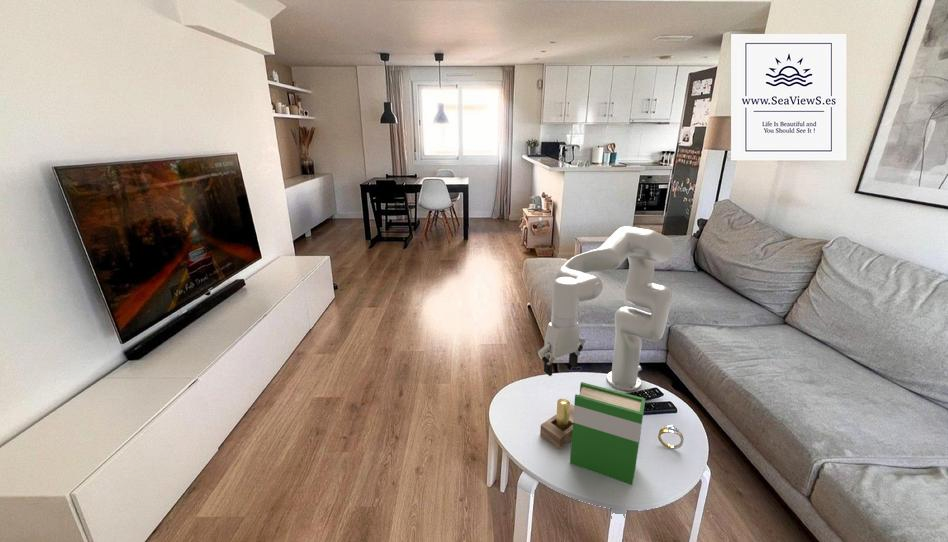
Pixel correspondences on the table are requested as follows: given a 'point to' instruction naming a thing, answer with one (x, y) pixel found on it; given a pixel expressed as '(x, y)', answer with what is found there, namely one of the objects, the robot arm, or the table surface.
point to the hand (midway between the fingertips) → (560, 369)
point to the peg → (562, 414)
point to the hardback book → (606, 431)
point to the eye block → (557, 430)
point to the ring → (672, 430)
